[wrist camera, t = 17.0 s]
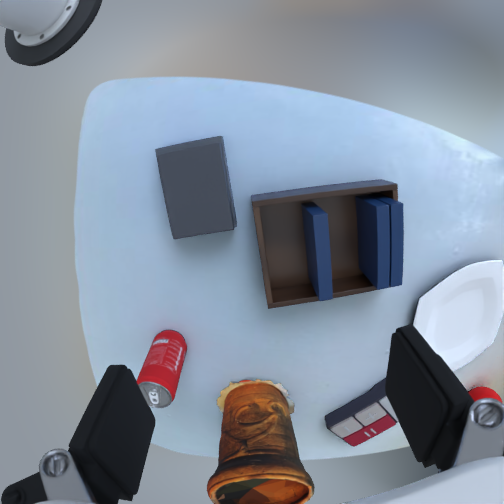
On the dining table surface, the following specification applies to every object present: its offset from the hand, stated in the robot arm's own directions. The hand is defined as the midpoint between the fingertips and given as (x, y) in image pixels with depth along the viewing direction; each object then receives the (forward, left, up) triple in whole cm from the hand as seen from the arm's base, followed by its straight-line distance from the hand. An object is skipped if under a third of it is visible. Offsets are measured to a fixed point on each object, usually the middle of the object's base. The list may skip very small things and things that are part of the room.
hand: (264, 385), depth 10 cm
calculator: (+41, +17, -31) cm, 54 cm away
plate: (+24, +34, -31) cm, 52 cm away
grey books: (-4, -6, -30) cm, 31 cm away
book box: (+5, +9, -30) cm, 32 cm away
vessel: (+33, -4, -31) cm, 45 cm away
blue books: (+5, +15, -30) cm, 34 cm away
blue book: (+5, +7, -30) cm, 31 cm away
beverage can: (+18, -15, -31) cm, 38 cm away
